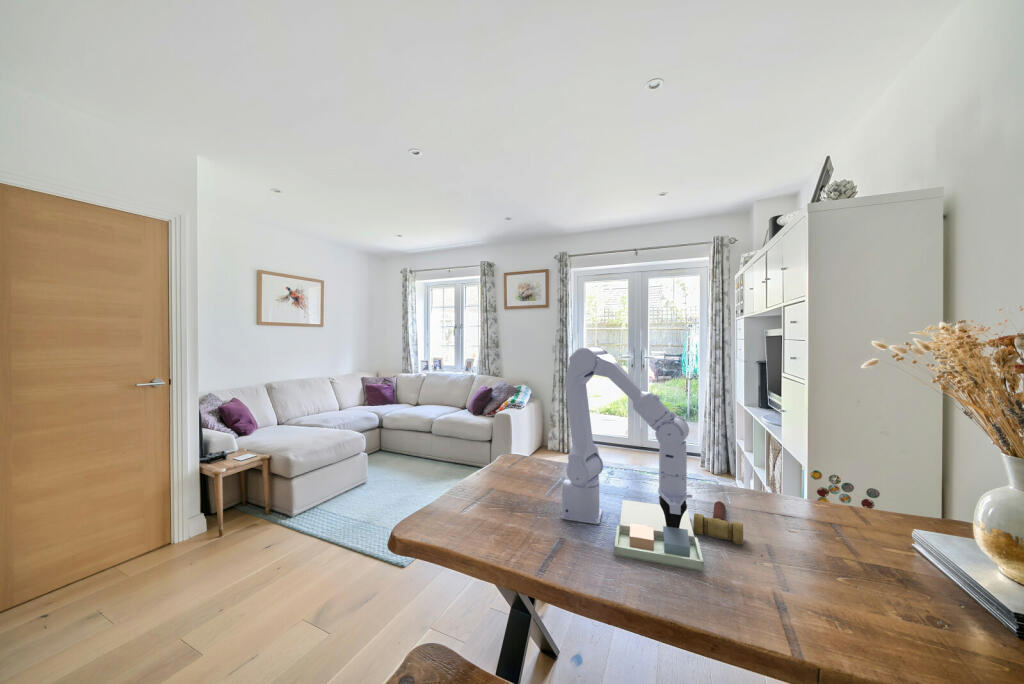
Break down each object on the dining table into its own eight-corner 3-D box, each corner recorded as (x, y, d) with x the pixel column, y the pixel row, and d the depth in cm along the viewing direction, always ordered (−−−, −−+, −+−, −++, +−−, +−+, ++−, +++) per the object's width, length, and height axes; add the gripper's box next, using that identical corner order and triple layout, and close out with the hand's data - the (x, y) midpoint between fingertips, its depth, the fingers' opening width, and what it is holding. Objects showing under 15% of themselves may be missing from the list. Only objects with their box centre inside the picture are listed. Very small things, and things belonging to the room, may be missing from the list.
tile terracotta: (629, 546, 82) (629, 536, 82) (630, 533, 87) (630, 523, 87) (653, 551, 80) (653, 540, 80) (653, 537, 85) (653, 526, 85)
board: (619, 533, 88) (619, 524, 88) (622, 507, 102) (622, 499, 102) (694, 545, 83) (694, 536, 83) (686, 516, 96) (686, 508, 96)
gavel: (699, 490, 105) (741, 497, 100) (699, 506, 105) (741, 515, 100) (693, 516, 87) (743, 527, 82) (693, 536, 87) (743, 548, 82)
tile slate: (664, 552, 80) (664, 542, 79) (662, 535, 84) (663, 525, 84) (689, 556, 78) (690, 547, 78) (687, 539, 83) (687, 529, 82)
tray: (614, 555, 80) (614, 546, 80) (617, 533, 88) (617, 525, 88) (703, 571, 74) (703, 561, 74) (697, 546, 83) (697, 537, 83)
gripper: (696, 486, 76) (696, 552, 76) (688, 462, 89) (688, 518, 90) (659, 482, 78) (659, 546, 78) (656, 459, 92) (656, 514, 92)
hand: (672, 531), depth 84 cm, fingers closed
